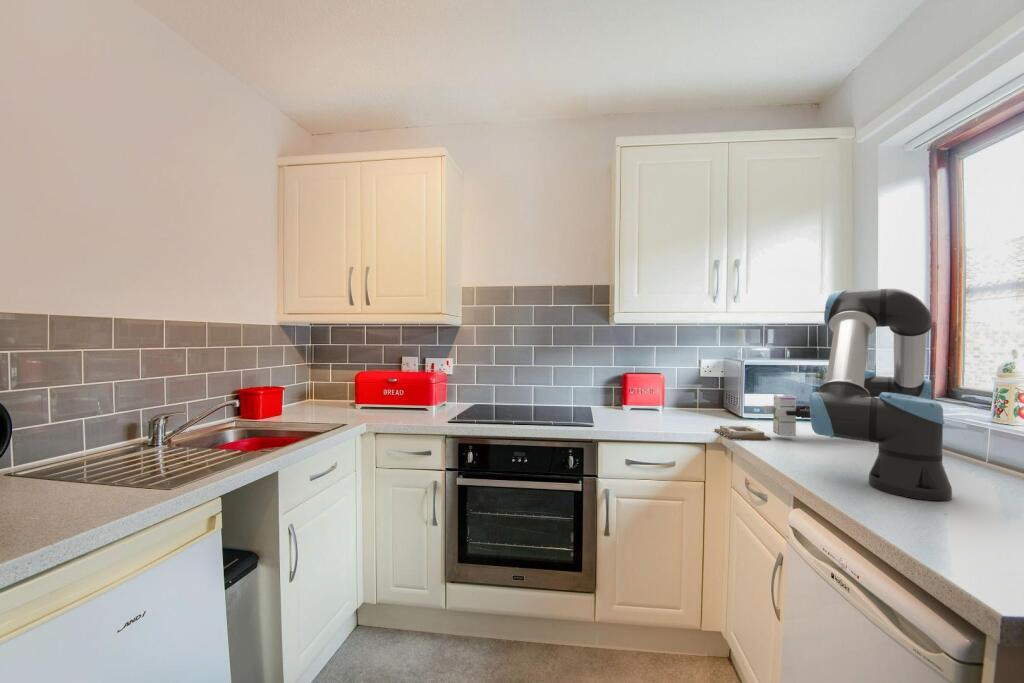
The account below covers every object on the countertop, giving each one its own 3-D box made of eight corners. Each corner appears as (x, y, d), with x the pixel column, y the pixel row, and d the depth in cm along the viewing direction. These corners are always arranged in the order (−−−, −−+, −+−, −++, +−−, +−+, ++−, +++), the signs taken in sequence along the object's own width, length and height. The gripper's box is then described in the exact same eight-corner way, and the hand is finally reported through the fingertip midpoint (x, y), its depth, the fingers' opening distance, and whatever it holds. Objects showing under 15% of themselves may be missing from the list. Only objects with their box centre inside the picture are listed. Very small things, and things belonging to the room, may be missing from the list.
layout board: (770, 440, 156) (770, 433, 156) (731, 439, 157) (731, 433, 157) (750, 431, 170) (750, 425, 170) (714, 431, 171) (714, 424, 171)
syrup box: (796, 436, 156) (797, 396, 156) (778, 435, 157) (779, 395, 157) (789, 433, 162) (790, 394, 162) (772, 432, 163) (773, 393, 163)
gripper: (854, 427, 149) (786, 426, 150) (816, 417, 169) (756, 416, 169) (854, 406, 149) (786, 404, 150) (816, 398, 169) (756, 397, 169)
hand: (770, 410), depth 160 cm, fingers closed on syrup box, 6 cm apart
